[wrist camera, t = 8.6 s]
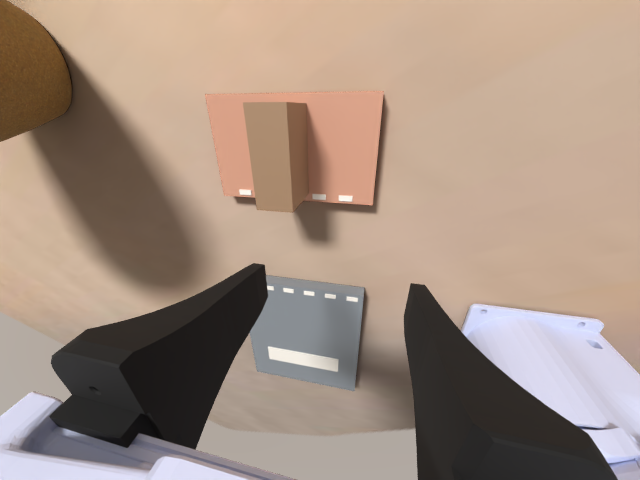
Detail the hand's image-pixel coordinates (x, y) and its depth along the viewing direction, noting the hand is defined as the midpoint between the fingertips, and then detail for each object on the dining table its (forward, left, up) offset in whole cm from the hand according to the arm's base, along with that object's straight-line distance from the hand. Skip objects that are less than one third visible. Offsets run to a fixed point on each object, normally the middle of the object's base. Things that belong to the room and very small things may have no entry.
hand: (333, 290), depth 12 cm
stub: (+4, -5, -9) cm, 12 cm away
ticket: (+4, +14, -9) cm, 17 cm away
